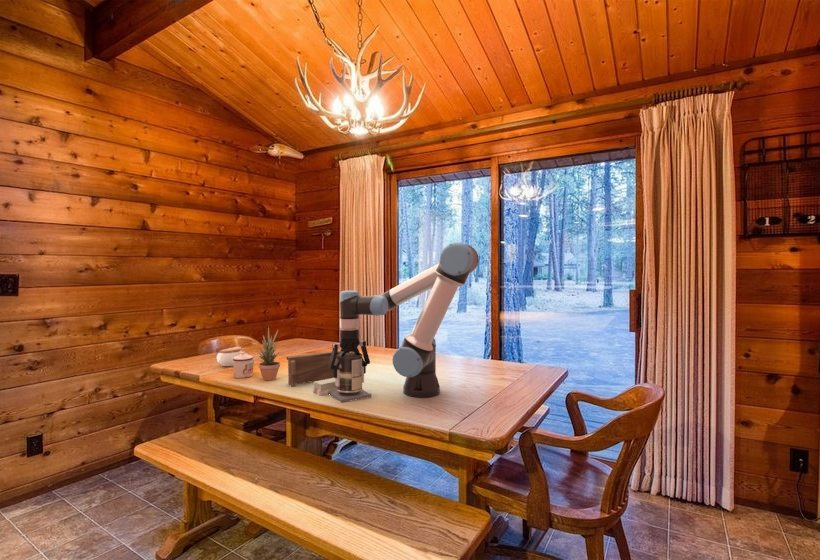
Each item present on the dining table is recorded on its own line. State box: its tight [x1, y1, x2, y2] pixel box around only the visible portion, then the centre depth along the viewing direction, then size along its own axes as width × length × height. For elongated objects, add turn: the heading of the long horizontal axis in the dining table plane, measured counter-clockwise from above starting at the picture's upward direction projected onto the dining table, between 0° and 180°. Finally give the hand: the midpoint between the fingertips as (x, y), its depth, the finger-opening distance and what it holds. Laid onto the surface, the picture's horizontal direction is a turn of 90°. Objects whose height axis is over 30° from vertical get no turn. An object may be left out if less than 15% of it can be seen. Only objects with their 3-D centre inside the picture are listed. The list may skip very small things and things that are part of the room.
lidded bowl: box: [215, 344, 242, 367], centre depth 224 cm, size 13×13×11 cm
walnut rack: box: [286, 350, 340, 388], centre depth 191 cm, size 6×25×12 cm, turn 122°
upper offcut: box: [313, 378, 337, 391], centre depth 176 cm, size 6×13×2 cm, turn 131°
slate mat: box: [328, 388, 372, 403], centre depth 170 cm, size 13×13×1 cm
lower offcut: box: [312, 387, 337, 396], centre depth 176 cm, size 6×13×2 cm, turn 127°
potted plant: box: [258, 326, 281, 381], centre depth 195 cm, size 10×10×25 cm
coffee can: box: [337, 352, 363, 393], centre depth 170 cm, size 10×10×14 cm
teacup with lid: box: [232, 351, 255, 379], centre depth 202 cm, size 12×9×12 cm
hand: (349, 383), depth 170 cm, fingers closed on coffee can, 10 cm apart
